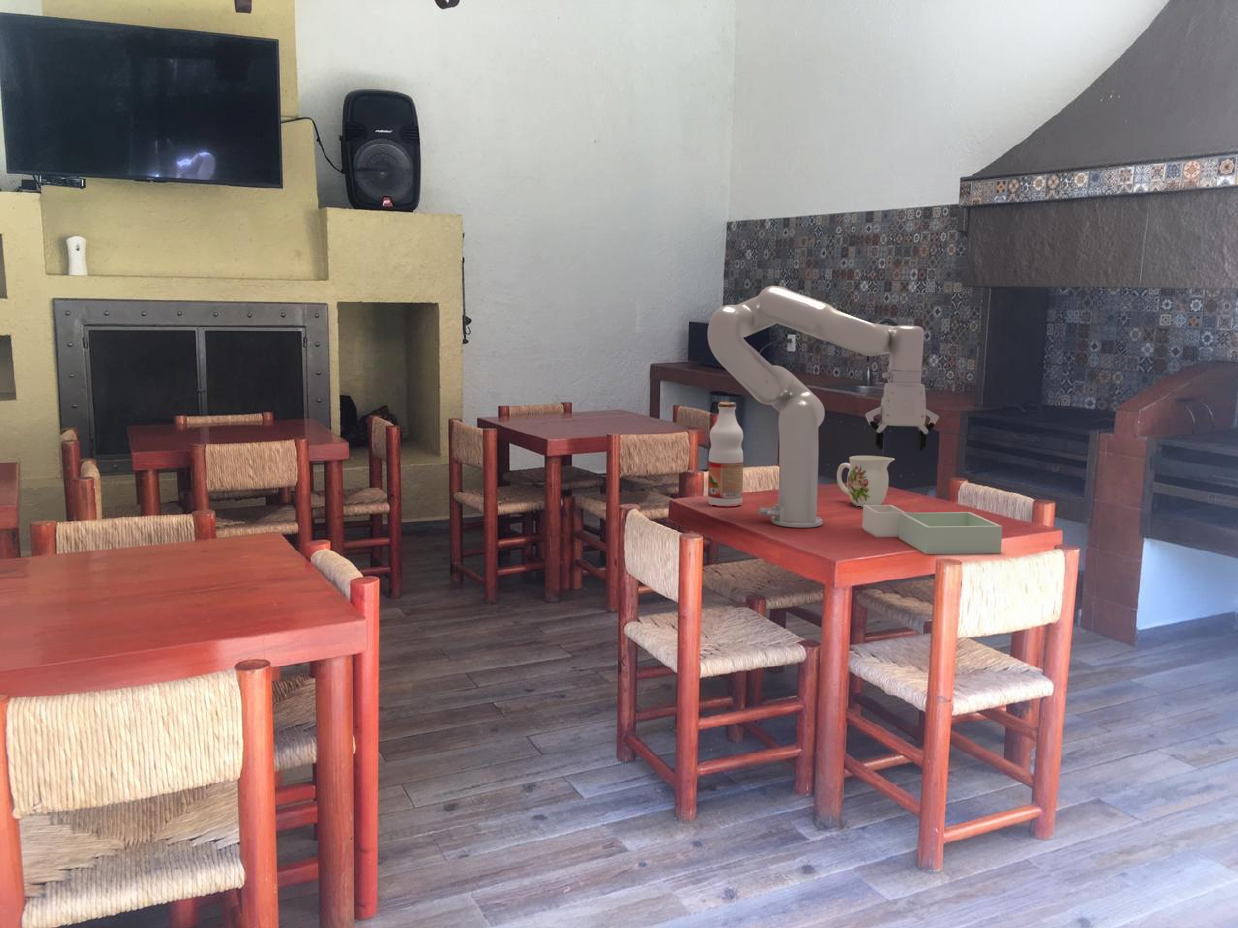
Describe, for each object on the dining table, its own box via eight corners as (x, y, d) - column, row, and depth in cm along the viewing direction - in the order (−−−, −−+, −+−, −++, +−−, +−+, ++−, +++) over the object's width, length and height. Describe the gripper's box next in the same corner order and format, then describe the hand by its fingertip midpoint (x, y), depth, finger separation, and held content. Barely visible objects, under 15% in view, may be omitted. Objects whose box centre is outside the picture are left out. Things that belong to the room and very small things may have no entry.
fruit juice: (737, 508, 285) (739, 404, 281) (703, 506, 288) (705, 403, 285) (745, 503, 294) (748, 401, 290) (712, 500, 297) (714, 400, 293)
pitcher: (848, 498, 302) (850, 450, 300) (903, 507, 289) (905, 457, 287) (824, 503, 295) (826, 454, 293) (880, 512, 282) (882, 460, 280)
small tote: (875, 537, 250) (876, 512, 250) (862, 529, 260) (863, 504, 259) (904, 537, 251) (905, 512, 250) (890, 528, 261) (891, 504, 260)
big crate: (925, 554, 233) (927, 527, 232) (898, 537, 249) (899, 512, 248) (1000, 553, 234) (1002, 526, 233) (968, 537, 251) (970, 512, 250)
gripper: (871, 378, 249) (867, 450, 251) (945, 380, 249) (940, 452, 251) (864, 376, 256) (860, 446, 259) (936, 377, 256) (931, 448, 259)
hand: (899, 449), depth 255 cm, fingers open, 9 cm apart
